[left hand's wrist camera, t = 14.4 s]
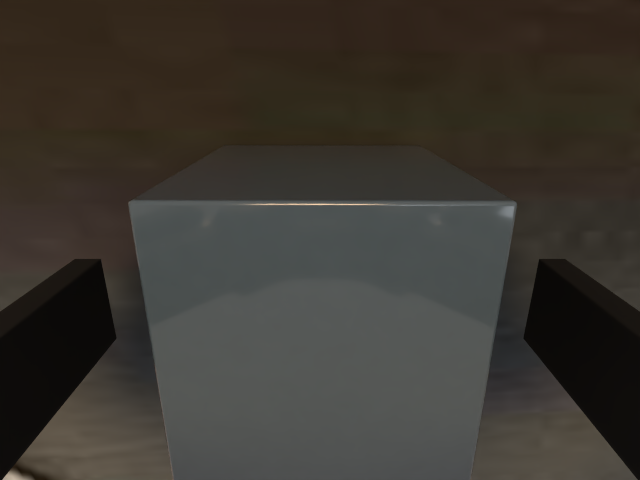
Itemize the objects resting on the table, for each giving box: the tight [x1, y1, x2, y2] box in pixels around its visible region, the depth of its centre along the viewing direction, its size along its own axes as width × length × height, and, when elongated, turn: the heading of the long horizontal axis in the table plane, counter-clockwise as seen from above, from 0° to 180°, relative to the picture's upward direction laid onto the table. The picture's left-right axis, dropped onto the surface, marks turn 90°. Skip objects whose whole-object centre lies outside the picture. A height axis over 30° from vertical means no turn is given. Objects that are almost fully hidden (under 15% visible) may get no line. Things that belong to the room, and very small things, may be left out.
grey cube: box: [128, 145, 517, 480], centre depth 12 cm, size 7×8×8 cm
